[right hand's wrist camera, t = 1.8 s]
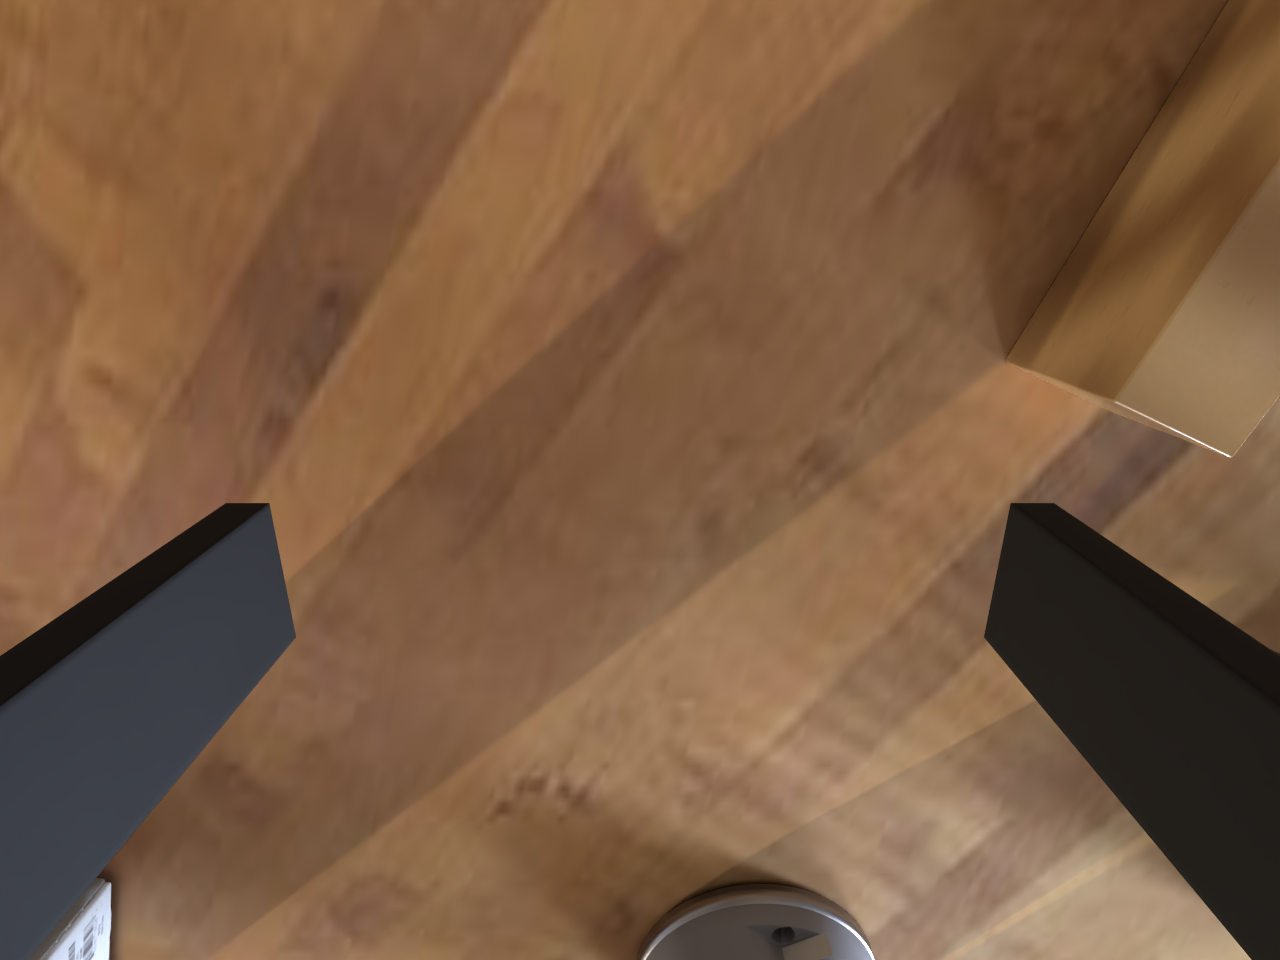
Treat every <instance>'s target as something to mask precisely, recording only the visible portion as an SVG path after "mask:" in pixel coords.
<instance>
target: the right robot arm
mask: <svg viewBox="0 0 1280 960" xmlns="http://www.w3.org/2000/svg"><path fill="white" fill-rule="evenodd" d="M295 638H296V635H295V630H294V625H293V620H292V615H291V610H290V605H289V600H288V595H287V590H286V585H285V580H284V575H283V570H282V565H281V560H280V555H279V550H278V545H277V540H276V535H275V530H274V525H273V520H272V515H271V510H270V505H269V503H226V504H224V505H223V506H221V507H220V508H218V509H217V510H215V511H214V512H212V513H211V514H209V515H208V516H206V517H205V518H203V519H202V520H201V521H199V522H198V523H196V524H195V525H193V526H192V527H190V528H189V529H187V530H186V531H184V532H183V533H181V534H180V535H178V536H177V537H175V538H174V539H172V540H171V541H170V542H168V543H167V544H165V545H164V546H162V547H161V548H159V549H158V550H156V551H155V552H153V553H152V554H150V555H149V556H147V557H146V558H144V559H143V560H141V561H140V562H139V563H137V564H136V565H134V566H133V567H131V568H130V569H128V570H127V571H125V572H124V573H122V574H121V575H119V576H118V577H116V578H115V579H113V580H112V581H110V582H109V583H108V584H106V585H105V586H103V587H102V588H100V589H99V590H97V591H96V592H94V593H93V594H91V595H90V596H88V597H87V598H85V599H84V600H82V601H81V602H79V603H78V604H77V605H75V606H74V607H72V608H71V609H69V610H68V611H66V612H65V613H63V614H62V615H60V616H59V617H57V618H56V619H54V620H53V621H51V622H50V623H48V624H47V625H46V626H44V627H43V628H41V629H40V630H38V631H37V632H35V633H34V634H32V635H31V636H29V637H28V638H26V639H25V640H23V641H22V642H20V643H19V644H17V645H16V646H15V647H13V648H12V649H10V650H9V651H7V652H6V653H4V654H3V655H1V656H0V960H28V959H29V958H30V957H31V956H32V954H33V953H34V952H35V951H36V950H37V948H38V947H39V946H40V945H41V944H42V942H43V941H44V940H45V939H46V938H47V936H48V935H49V934H50V933H51V932H52V930H53V929H54V928H55V927H56V926H57V924H58V923H59V922H60V921H61V920H62V918H63V917H64V916H65V915H66V914H67V912H68V911H69V910H70V909H71V908H72V906H73V905H74V904H75V903H76V901H77V900H78V899H79V898H80V897H81V895H82V894H83V893H84V892H85V891H86V889H87V888H88V887H89V886H90V885H91V883H92V882H93V881H94V880H95V879H96V877H97V876H98V875H99V874H100V873H101V871H102V870H103V869H104V868H105V867H106V865H107V864H108V863H109V862H110V861H111V859H112V858H113V857H114V856H115V855H116V853H117V852H118V851H119V850H120V848H121V847H122V846H123V845H124V844H125V842H126V841H127V840H128V839H129V838H130V836H131V835H132V834H133V833H134V832H135V830H136V829H137V828H138V827H139V826H140V824H141V823H142V822H143V821H144V820H145V818H146V817H147V816H148V815H149V814H150V812H151V811H152V810H153V809H154V808H155V806H156V805H157V804H158V803H159V802H160V800H161V799H162V798H163V797H164V795H165V794H166V793H167V792H168V791H169V789H170V788H171V787H172V786H173V785H174V783H175V782H176V781H177V780H178V779H179V777H180V776H181V775H182V774H183V773H184V771H185V770H186V769H187V768H188V767H189V765H190V764H191V763H192V762H193V761H194V759H195V758H196V757H197V756H198V755H199V753H200V752H201V751H202V750H203V749H204V747H205V746H206V745H207V744H208V742H209V741H210V740H211V739H212V738H213V736H214V735H215V734H216V733H217V732H218V730H219V729H220V728H221V727H222V726H223V724H224V723H225V722H226V721H227V720H228V718H229V717H230V716H231V715H232V714H233V712H234V711H235V710H236V709H237V708H238V706H239V705H240V704H241V703H242V702H243V700H244V699H245V698H246V697H247V696H248V694H249V693H250V692H251V691H252V689H253V688H254V687H255V686H256V685H257V683H258V682H259V681H260V680H261V679H262V677H263V676H264V675H265V674H266V673H267V671H268V670H269V669H270V668H271V667H272V665H273V664H274V663H275V662H276V661H277V659H278V658H279V657H280V656H281V655H282V653H283V652H284V651H285V650H286V649H287V647H288V646H289V645H290V644H291V643H292V641H293V640H294V639H295ZM984 638H985V639H986V640H987V641H988V643H989V644H990V645H991V646H992V647H993V649H994V650H995V651H996V652H997V653H998V655H999V656H1000V657H1001V658H1002V659H1003V661H1004V662H1005V663H1006V664H1007V665H1008V667H1009V668H1010V669H1011V670H1012V671H1013V673H1014V674H1015V675H1016V676H1017V677H1018V679H1019V680H1020V681H1021V682H1022V683H1023V685H1024V686H1025V687H1026V688H1027V689H1028V691H1029V692H1030V693H1031V694H1032V696H1033V697H1034V698H1035V699H1036V700H1037V702H1038V703H1039V704H1040V705H1041V706H1042V708H1043V709H1044V710H1045V711H1046V712H1047V714H1048V715H1049V716H1050V717H1051V718H1052V720H1053V721H1054V722H1055V723H1056V724H1057V726H1058V727H1059V728H1060V729H1061V730H1062V732H1063V733H1064V734H1065V735H1066V736H1067V738H1068V739H1069V740H1070V741H1071V742H1072V744H1073V745H1074V746H1075V747H1076V749H1077V750H1078V751H1079V752H1080V753H1081V755H1082V756H1083V757H1084V758H1085V759H1086V761H1087V762H1088V763H1089V764H1090V765H1091V767H1092V768H1093V769H1094V770H1095V771H1096V773H1097V774H1098V775H1099V776H1100V777H1101V779H1102V780H1103V781H1104V782H1105V783H1106V785H1107V786H1108V787H1109V788H1110V789H1111V791H1112V792H1113V793H1114V794H1115V795H1116V797H1117V798H1118V799H1119V800H1120V802H1121V803H1122V804H1123V805H1124V806H1125V808H1126V809H1127V810H1128V811H1129V812H1130V814H1131V815H1132V816H1133V817H1134V818H1135V820H1136V821H1137V822H1138V823H1139V824H1140V826H1141V827H1142V828H1143V829H1144V830H1145V832H1146V833H1147V834H1148V835H1149V836H1150V838H1151V839H1152V840H1153V841H1154V842H1155V844H1156V845H1157V846H1158V847H1159V848H1160V850H1161V851H1162V852H1163V853H1164V855H1165V856H1166V857H1167V858H1168V859H1169V861H1170V862H1171V863H1172V864H1173V865H1174V867H1175V868H1176V869H1177V870H1178V871H1179V873H1180V874H1181V875H1182V876H1183V877H1184V879H1185V880H1186V881H1187V882H1188V883H1189V885H1190V886H1191V887H1192V888H1193V889H1194V891H1195V892H1196V893H1197V894H1198V895H1199V897H1200V898H1201V899H1202V900H1203V901H1204V903H1205V904H1206V905H1207V906H1208V907H1209V909H1210V910H1211V911H1212V912H1213V914H1214V915H1215V916H1216V917H1217V918H1218V920H1219V921H1220V922H1221V923H1222V924H1223V926H1224V927H1225V928H1226V929H1227V930H1228V932H1229V933H1230V934H1231V935H1232V936H1233V938H1234V939H1235V940H1236V941H1237V942H1238V944H1239V945H1240V946H1241V947H1242V948H1243V950H1244V951H1245V952H1246V953H1247V954H1248V956H1249V957H1250V958H1251V959H1252V960H1280V654H1279V653H1277V652H1275V651H1272V650H1270V649H1268V648H1267V647H1265V646H1264V645H1263V644H1261V643H1260V642H1258V641H1257V640H1255V639H1254V638H1252V637H1251V636H1249V635H1248V634H1246V633H1245V632H1243V631H1242V630H1240V629H1239V628H1237V627H1236V626H1234V625H1233V624H1232V623H1230V622H1229V621H1227V620H1226V619H1224V618H1223V617H1221V616H1220V615H1218V614H1217V613H1215V612H1214V611H1212V610H1211V609H1209V608H1208V607H1206V606H1205V605H1203V604H1202V603H1201V602H1199V601H1198V600H1196V599H1195V598H1193V597H1192V596H1190V595H1189V594H1187V593H1186V592H1184V591H1183V590H1181V589H1180V588H1178V587H1177V586H1175V585H1174V584H1172V583H1171V582H1170V581H1168V580H1167V579H1165V578H1164V577H1162V576H1161V575H1159V574H1158V573H1156V572H1155V571H1153V570H1152V569H1150V568H1149V567H1147V566H1146V565H1144V564H1143V563H1141V562H1140V561H1139V560H1137V559H1136V558H1134V557H1133V556H1131V555H1130V554H1128V553H1127V552H1125V551H1124V550H1122V549H1121V548H1119V547H1118V546H1116V545H1115V544H1113V543H1112V542H1110V541H1109V540H1108V539H1106V538H1105V537H1103V536H1102V535H1100V534H1099V533H1097V532H1096V531H1094V530H1093V529H1091V528H1090V527H1088V526H1087V525H1085V524H1084V523H1082V522H1081V521H1079V520H1078V519H1077V518H1075V517H1074V516H1072V515H1071V514H1069V513H1068V512H1066V511H1065V510H1063V509H1062V508H1060V507H1059V506H1057V505H1056V504H1054V503H1011V505H1010V510H1009V515H1008V520H1007V525H1006V530H1005V535H1004V540H1003V545H1002V550H1001V555H1000V560H999V565H998V570H997V575H996V580H995V585H994V590H993V595H992V600H991V605H990V610H989V615H988V620H987V625H986V630H985V635H984ZM637 960H874V957H873V954H872V951H871V948H870V945H869V942H868V939H867V937H866V935H865V933H864V931H863V930H862V928H861V927H860V925H859V924H858V923H857V921H856V920H855V919H854V918H853V917H852V916H851V915H850V914H849V913H848V912H846V911H845V910H844V909H843V908H842V907H840V906H838V905H837V904H835V903H834V902H832V901H830V900H828V899H827V898H825V897H823V896H820V895H818V894H815V893H813V892H810V891H807V890H803V889H799V888H795V887H791V886H784V885H776V884H745V885H737V886H730V887H725V888H721V889H717V890H713V891H710V892H707V893H704V894H701V895H699V896H696V897H694V898H692V899H690V900H688V901H686V902H684V903H682V904H681V905H679V906H677V907H676V908H674V909H673V910H671V911H670V912H669V913H667V914H666V915H665V916H664V917H663V918H661V919H660V920H659V921H658V922H657V923H656V924H655V925H654V927H653V928H652V929H651V930H650V932H649V933H648V934H647V936H646V937H645V939H644V941H643V943H642V945H641V947H640V949H639V952H638V956H637Z"/></svg>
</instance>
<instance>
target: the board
mask: <svg viewBox="0 0 1280 960" xmlns="http://www.w3.org/2000/svg"><path fill="white" fill-rule="evenodd" d="M1005 361H1006V363H1008V364H1011V365H1013V366H1015V367H1017V368H1019V369H1021V370H1023V371H1025V372H1027V373H1029V374H1031V375H1034V376H1036V377H1038V378H1040V379H1042V380H1044V381H1046V382H1048V383H1050V384H1052V385H1055V386H1057V387H1059V388H1061V389H1063V390H1065V391H1067V392H1069V393H1071V394H1073V395H1076V396H1078V397H1080V398H1082V399H1084V400H1086V401H1088V402H1090V403H1092V404H1094V405H1097V406H1099V407H1101V408H1104V409H1106V410H1109V411H1112V412H1114V413H1117V414H1119V415H1122V416H1124V417H1127V418H1129V419H1132V420H1135V421H1137V422H1140V423H1142V424H1145V425H1147V426H1150V427H1152V428H1155V429H1157V430H1160V431H1163V432H1165V433H1168V434H1170V435H1173V436H1175V437H1178V438H1180V439H1183V440H1186V441H1188V442H1191V443H1193V444H1196V445H1198V446H1201V447H1203V448H1206V449H1209V450H1211V451H1214V452H1216V453H1219V454H1221V455H1224V456H1226V457H1233V456H1234V455H1235V454H1236V452H1237V451H1238V450H1239V448H1240V447H1241V446H1242V444H1243V443H1244V442H1245V441H1246V439H1247V438H1248V437H1249V435H1250V434H1251V433H1252V431H1253V430H1254V429H1255V428H1256V426H1257V425H1258V424H1259V422H1260V421H1261V420H1262V418H1263V417H1264V416H1265V415H1266V413H1267V412H1268V411H1269V409H1270V408H1271V407H1272V405H1273V404H1274V403H1275V402H1276V400H1277V399H1278V398H1279V396H1280V0H1228V2H1227V4H1226V5H1225V7H1224V9H1223V10H1222V12H1221V13H1220V15H1219V17H1218V18H1217V20H1216V21H1215V23H1214V25H1213V26H1212V28H1211V29H1210V31H1209V33H1208V34H1207V36H1206V38H1205V39H1204V41H1203V42H1202V44H1201V46H1200V47H1199V49H1198V50H1197V52H1196V54H1195V55H1194V57H1193V58H1192V60H1191V62H1190V63H1189V65H1188V67H1187V68H1186V70H1185V71H1184V73H1183V75H1182V76H1181V78H1180V79H1179V81H1178V83H1177V84H1176V86H1175V87H1174V89H1173V91H1172V92H1171V94H1170V96H1169V97H1168V99H1167V100H1166V102H1165V104H1164V105H1163V107H1162V108H1161V110H1160V112H1159V113H1158V115H1157V116H1156V118H1155V120H1154V121H1153V123H1152V125H1151V126H1150V128H1149V129H1148V131H1147V133H1146V134H1145V136H1144V137H1143V139H1142V141H1141V142H1140V144H1139V145H1138V147H1137V149H1136V150H1135V152H1134V154H1133V155H1132V157H1131V158H1130V160H1129V162H1128V163H1127V165H1126V166H1125V168H1124V170H1123V171H1122V173H1121V174H1120V176H1119V178H1118V179H1117V181H1116V183H1115V184H1114V186H1113V187H1112V189H1111V191H1110V192H1109V194H1108V195H1107V197H1106V199H1105V200H1104V202H1103V203H1102V205H1101V207H1100V208H1099V210H1098V212H1097V213H1096V215H1095V216H1094V218H1093V220H1092V221H1091V223H1090V224H1089V226H1088V228H1087V229H1086V231H1085V233H1084V234H1083V236H1082V237H1081V239H1080V241H1079V242H1078V244H1077V245H1076V247H1075V249H1074V250H1073V252H1072V253H1071V255H1070V257H1069V258H1068V260H1067V262H1066V263H1065V265H1064V266H1063V268H1062V270H1061V271H1060V273H1059V274H1058V276H1057V278H1056V279H1055V281H1054V282H1053V284H1052V286H1051V287H1050V289H1049V291H1048V292H1047V294H1046V295H1045V297H1044V299H1043V300H1042V302H1041V303H1040V305H1039V307H1038V308H1037V310H1036V311H1035V313H1034V315H1033V316H1032V318H1031V320H1030V321H1029V323H1028V324H1027V326H1026V328H1025V329H1024V331H1023V332H1022V334H1021V336H1020V337H1019V339H1018V340H1017V342H1016V344H1015V345H1014V347H1013V349H1012V350H1011V352H1010V353H1009V355H1008V357H1007V358H1006V360H1005Z"/></svg>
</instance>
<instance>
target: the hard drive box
mask: <svg viewBox="0 0 1280 960" xmlns="http://www.w3.org/2000/svg"><path fill="white" fill-rule="evenodd" d="M110 932H111V883H110V882H105V879H102V878H96V879H95V880H94V881H93V882H92V883H91V885H90V886H89V887H88V888H87V889H86V891H85V892H84V893H83V894H82V895H81V897H80V898H79V899H78V900H77V901H76V903H75V904H74V905H73V906H72V908H71V909H70V910H69V911H68V912H67V914H66V915H65V916H64V917H63V918H62V920H61V921H60V922H59V923H58V924H57V926H56V927H55V928H54V929H53V930H52V932H51V933H50V934H49V935H48V936H47V938H46V939H45V940H44V941H43V942H42V944H41V945H40V946H39V947H38V948H37V950H36V951H35V952H34V953H33V954H32V956H31V957H30V958H29V959H28V960H109V947H110Z"/></svg>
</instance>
